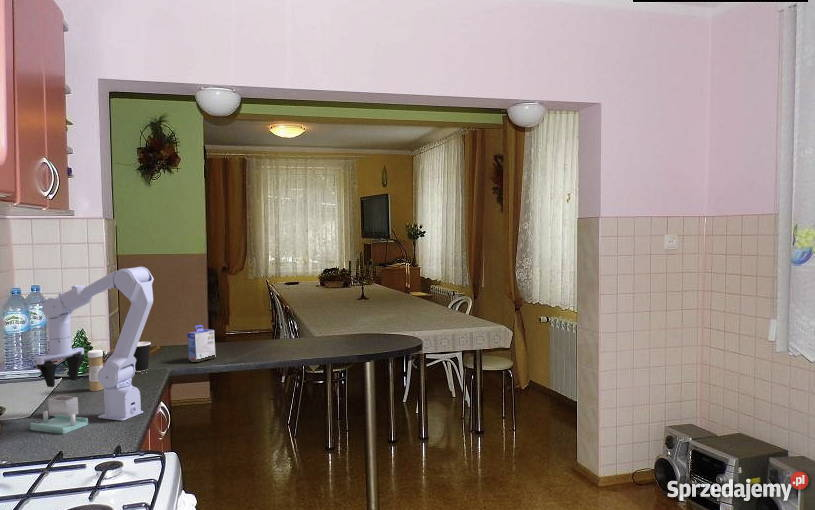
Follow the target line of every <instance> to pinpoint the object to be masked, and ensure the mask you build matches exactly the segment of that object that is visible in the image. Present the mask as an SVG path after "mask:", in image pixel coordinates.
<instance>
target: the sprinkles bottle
mask: <svg viewBox="0 0 815 510" xmlns="http://www.w3.org/2000/svg"><path fill="white" fill-rule="evenodd" d="M103 356H104V353H103V349H92V350H89V351H87V358H88V380H89V391H91V392H96V391H97V392H98V391H103V390H104V389H103V386H102V385H101V384H100V383H99V381H98V372H99V370H100V369H101V368H102V367H103V366H104V362H103V361H104V360H103Z"/></svg>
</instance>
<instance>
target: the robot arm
mask: <svg viewBox="0 0 815 510" xmlns="http://www.w3.org/2000/svg"><path fill="white" fill-rule="evenodd" d="M154 280H155V279H154V277H153V275H152V274H151V272H150V270H149V269H148V268H146V267H144V266H141V265H140V266H137V267H129V268H120V269H118V270H116V271H112V272H110V273H108V274H107V275H105V276H103V277H101V278H99V279H98V280H95V281H94V282H92V283H91V284H89V285H87V286H86V285H83V284H82V285H81V284H80V285H78V284H76V285H75V284H74V285H73V286H71V289H69V290H67V291H66V292H59V293H58V295H57V297H49V298H47V299H46V300H45V301H44V302H43V303H42V305H41V306H42V308H41V310H42V313H43V315H44V316H46V317H47V335H48V348H49V349H48V350H49V351H48V353H46V354H43V355H41V356H36V357H35V364H36V367H37V369H38V370H39V371H40V373H41V374H42V376H43V379H44V381H45V384H46V387H48V388H54V387H55V385H56V381H55V379H56V377H55V376H56V375H55V374H56V369H57V366H58V364H57V363H53V362H54V361H59V360H64V359H65V360H66V364H67V368H68V377H69V381H77V380H78V375H79V372H80V370H81V369H80V368H81V366H82V363H83V361H84V360H85V355H84V354H85V348H84V347H75V348H72V332H71V319H72V313H73V312H74V311H75V310H77V309H79V308H81V307H84V306H86V305H87V304H89V303H91V302H92V300H93V297H94V296H96V295H99V294H100V293H103V292H105V291H107V290H111V289H116V288H117V290H119V292H121V293H122V294H123V295H124V296H125V297H126V298H127V299H128V300H129V302H130V306H129V310H128V312H127V315H126V317H125V320H124V324H123V325H122V328H121V331H120V334H119V337H118V339H117V342H116V344H115V348H114V350H113V353H112V354H111V355H110V356H109V357H108V358H107V359H106V360H105V363H104V364H103V367H102V368H101V369H100V370H99V372H98V381H99V383H100V384H101V385H102V386H103V389H102V390H103V394H104V395H103V399H104V413H103V414H100V415H98V416H97V418H98V419H104V420H105V419H106V420H112V421H113V420H114V421H125V420H129V419H131V418H133V417H135V416H139V415H141V414H143V413H144V411H143V410H142V404H141V402H142V401H141V392H140V390H139V388H138V387H136V386H133V384H132V379H133V377H134V376H135V375H136V374H135V363H136V359H135V357H134V356H133V355H134V353H135V350H136V347H137V345H138V342H140V339H141V335H142V333H143V331H144V328H145V326H146V322H147V321H148V317H149V314H150V311H151V308H152V307H153V304H154V292H153V291H154V290H153V282H154Z"/></svg>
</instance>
